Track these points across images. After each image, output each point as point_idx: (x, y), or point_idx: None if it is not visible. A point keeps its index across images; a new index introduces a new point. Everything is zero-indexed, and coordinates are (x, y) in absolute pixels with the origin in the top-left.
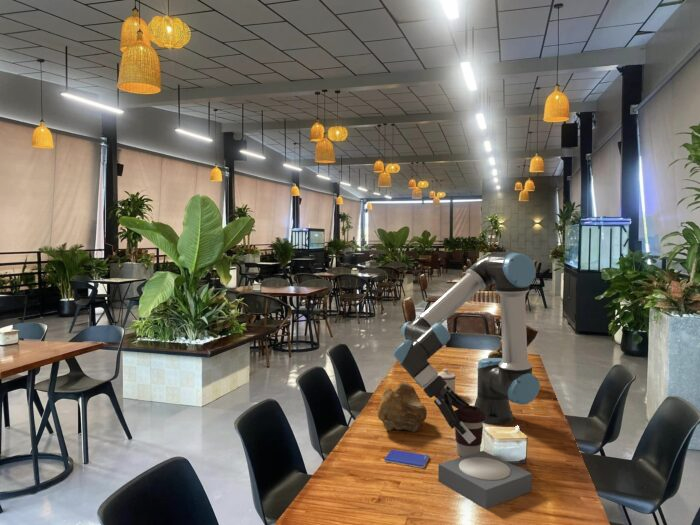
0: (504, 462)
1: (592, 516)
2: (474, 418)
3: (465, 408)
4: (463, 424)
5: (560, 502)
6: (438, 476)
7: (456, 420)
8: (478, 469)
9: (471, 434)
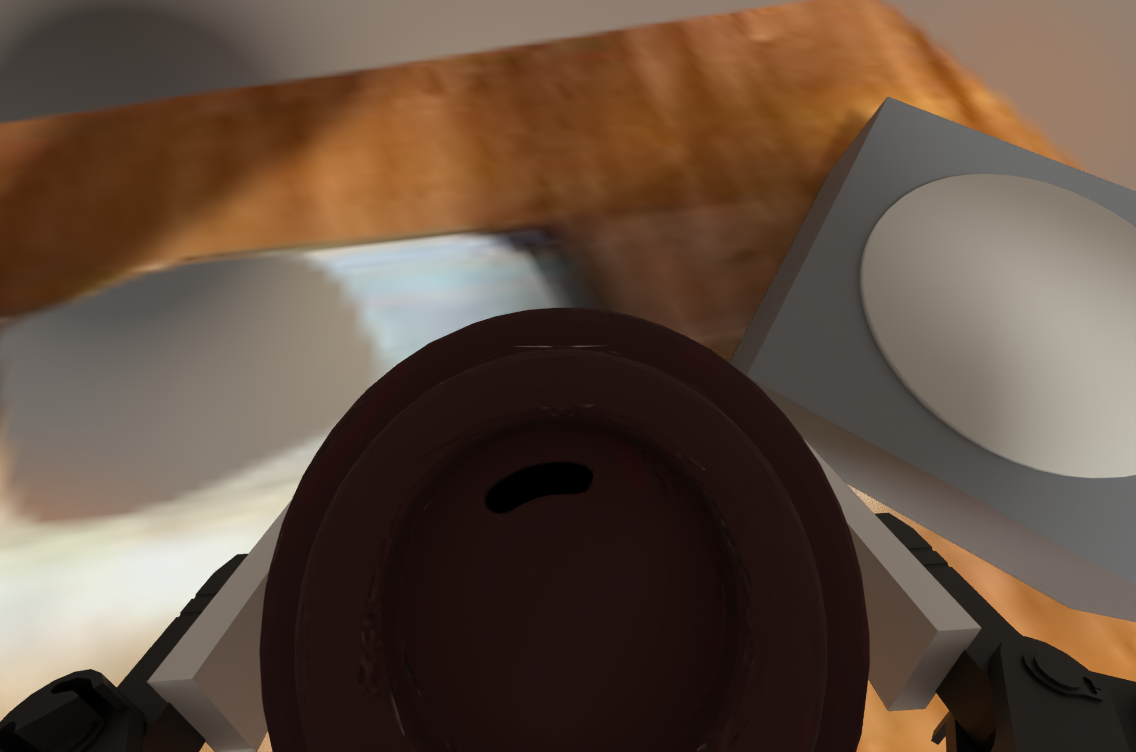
0: (845, 225)
1: (876, 9)
2: (778, 419)
3: (454, 718)
4: (912, 572)
5: (847, 84)
6: (1109, 615)
7: (1108, 728)
8: (1093, 333)
9: (815, 455)
